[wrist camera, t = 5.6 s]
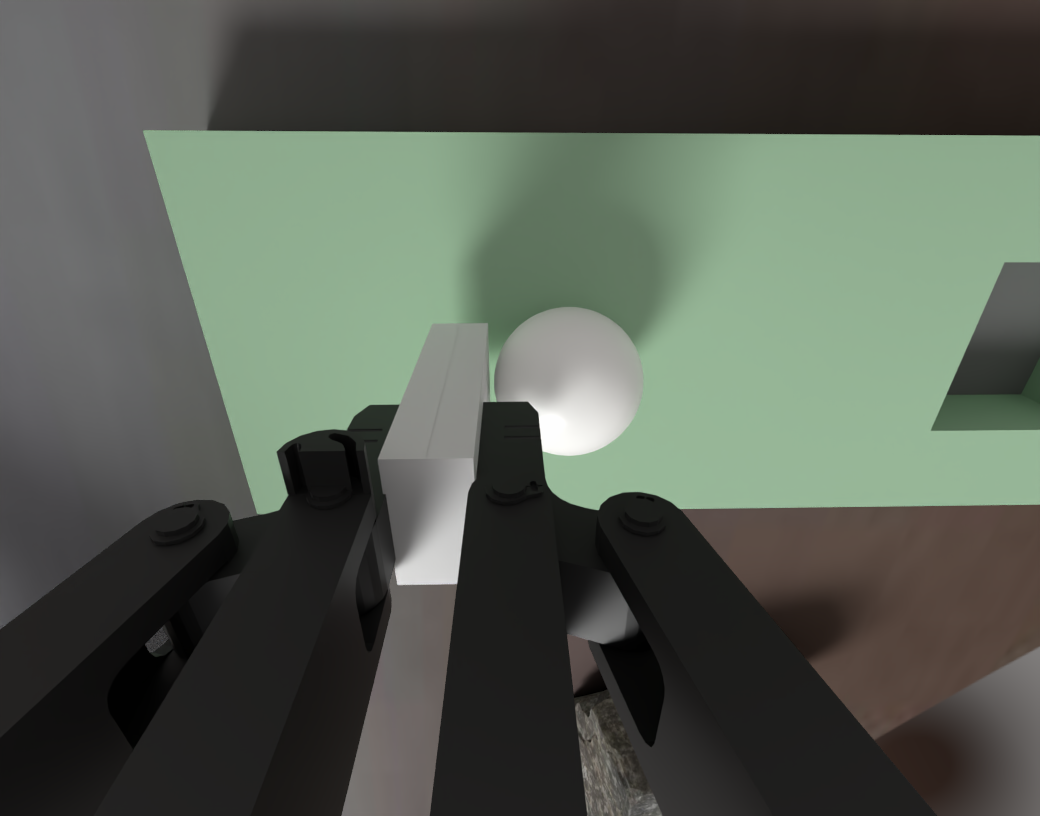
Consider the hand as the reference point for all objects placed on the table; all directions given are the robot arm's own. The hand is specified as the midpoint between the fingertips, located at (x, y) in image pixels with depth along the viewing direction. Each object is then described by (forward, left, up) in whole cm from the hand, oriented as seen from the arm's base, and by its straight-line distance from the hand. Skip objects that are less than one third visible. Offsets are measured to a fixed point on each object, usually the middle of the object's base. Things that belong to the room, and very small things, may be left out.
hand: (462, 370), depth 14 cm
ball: (+3, 0, +1) cm, 3 cm away
